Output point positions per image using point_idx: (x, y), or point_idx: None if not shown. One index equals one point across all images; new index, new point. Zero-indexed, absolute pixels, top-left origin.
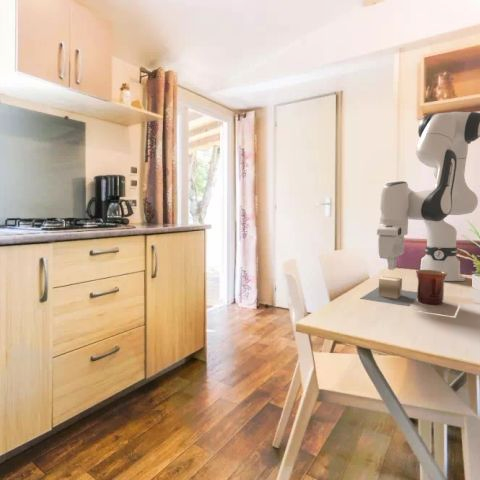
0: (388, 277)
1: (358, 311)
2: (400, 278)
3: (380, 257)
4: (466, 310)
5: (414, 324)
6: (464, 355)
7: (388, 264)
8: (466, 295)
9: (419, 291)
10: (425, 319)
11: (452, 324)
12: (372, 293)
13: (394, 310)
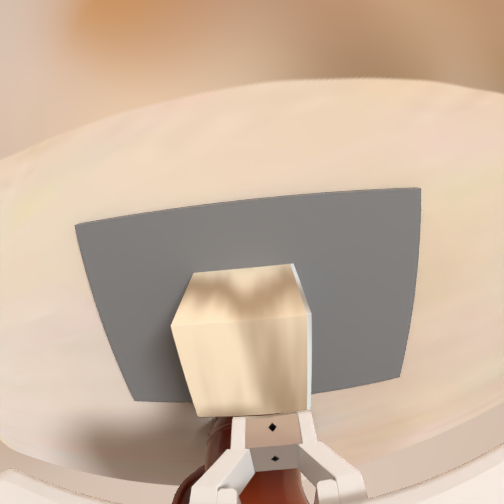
0: (276, 355)
1: None
2: (294, 407)
3: (6, 471)
4: None
5: (31, 408)
6: (8, 443)
7: (229, 449)
8: (432, 436)
9: (214, 447)
10: (77, 427)
11: (98, 458)
12: (227, 225)
13: (70, 368)
